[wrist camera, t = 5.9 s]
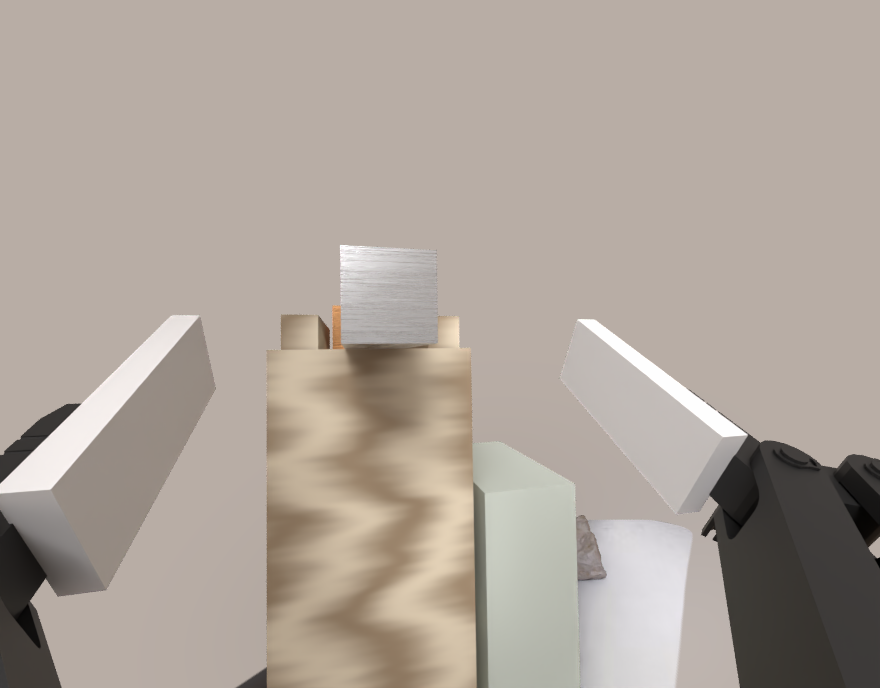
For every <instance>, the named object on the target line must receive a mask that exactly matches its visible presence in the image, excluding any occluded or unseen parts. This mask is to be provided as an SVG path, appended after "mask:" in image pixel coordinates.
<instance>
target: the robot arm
mask: <svg viewBox="0 0 880 688" xmlns="http://www.w3.org/2000/svg"><path fill="white" fill-rule="evenodd" d="M560 380H561V381H562V382H563V383H564V384H565V386H566V387H567V388H568V389H569V390H570V391H571V393H572V394H573V395H574V396H575V397H576V398H577V400H578V401H579V402H580V403H581V404H582V405H583V407H584V408H585V409H586V410H587V411H588V412H589V413H590V415H591V416H592V417H593V418H594V419H595V421H596V422H597V423H598V424H599V425H600V426H601V427H602V429H603V430H604V431H605V432H606V433H607V435H608V436H609V437H610V438H611V439H612V440H613V442H614V443H615V444H616V445H617V446H618V447H619V449H621V451H622V452H623V453H624V454H625V455H626V457H627V458H628V459H629V460H630V461H631V462H632V464H633V465H634V466H635V467H636V468H637V469H638V471H639V472H640V473H641V474H642V475H643V476H644V478H645V479H646V480H647V481H648V482H649V483H650V485H651V486H652V487H653V488H654V489H655V490H656V492H657V493H658V494H659V495H660V496H661V497H662V499H663V500H664V501H665V502H666V503H667V504H668V506H669V507H670V508H671V509H672V510H673V511H674V513H675V514H684V513H692V512H699V511H700V510H701V508H702V506H703V505H704V503H705V502H706V500H707V499H708V497H709V496H711V497H712V498H713V499H714V500H715V501H716V502H717V503H718V504H719V505H718V507H717V508H716V510H715V511H714V513H713V514H712V516H711V517H710V519H709V520H708V522H707V523H706V525H705V526H704V528H703V529H702V534H701V535H703V536H705V537H706V536H707V534H708V533H709V532H710V530H713V529H714V530H716V535H715V536H714V538H713V540H714V541H716V542H718V548H719V555H720V561H721V567H722V574H723V580H724V587H725V593H726V600H727V607H728V613H729V619H730V626H731V633H732V639H733V645H734V652H735V658H736V664H737V671H738V678H739V684H740V688H880V558H876V557H875V556H874V555H873V554H872V553H871V552H870V550H869V548H868V547H869V546H870V545H871V544H872V543H873V542H874V541H875V540H877V539H878V538H879V537H880V460H878V459H875V458H874V459H873V458H870V457H866V456H863V455H855V454H853V455H849V456H847V457H846V458H845V460H844V461H843V462H842V463H841V464H840V466H839V467H838V468H832V467H826V466H821V465H820V464H819V463H818V462H817V461H816V460H815V459H813V458H812V457H811V456H809V455H807V454H805V453H804V452H802V451H800V450H799V449H797V448H794V447H792V446H789V445H787V444H784V443H780V442H776V441H763V442H761V443H760V442H759V441H757V440H756V439H755V438H753V437H752V436H751V435H749V434H748V433H747V432H745V431H744V430H743V429H741V428H740V427H739V426H737V425H736V424H735V423H733V422H732V421H731V420H729V419H728V418H726V417H725V416H724V415H723V414H721V413H720V412H717V411H716V410H715V409H714V408H713V407H712V406H711V405H709V404H708V403H705V402H704V400H703V399H701V398H700V397H699V396H697V395H696V394H695V393H693V392H692V391H691V390H688V389H687V388H685V387H683V386H682V385H681V384H679V383H678V382H677V381H675V380H674V379H673V378H672V377H670V376H669V375H668V374H666V373H665V372H663V371H662V370H661V369H659V368H658V367H657V366H656V365H654V364H653V363H652V362H650V361H649V360H648V359H646V358H645V357H644V356H642V355H641V354H639V353H638V352H637V351H636V350H634V349H633V348H632V347H630V346H629V345H628V344H626V343H625V342H624V341H622V340H621V339H619V338H618V337H617V336H616V335H614V334H613V333H612V332H610V331H609V330H608V329H606V328H605V327H604V326H602V325H601V324H600V323H598V322H597V321H596V320H583V319H580V320H579V319H578V320H577V322H576V325H575V329H574V332H573V335H572V339H571V342H570V346H569V348H568V352H567V355H566V359H565V362H564V365H563V369H562V372H561V375H560ZM215 389H216V387H215V383H214V378H213V373H212V369H211V364H210V360H209V355H208V351H207V346H206V341H205V336H204V332H203V327H202V323H201V318H200V315H199V316H197V315H196V316H194V315H172V316H171V317H169V318H168V320H167V321H165V322H164V323H163V324H162V325H161V326H160V327H159V328H158V329H157V330H156V331H155V332H154V333H153V334H152V335H151V336H150V337H149V338H148V339H147V340H146V341H145V342H144V343H143V344H142V345H141V346H140V347H139V348H138V349H137V350H136V351H135V352H134V353H133V354H132V355H131V356H130V357H129V358H128V359H127V360H126V361H125V362H124V363H123V364H122V365H121V366H120V367H119V368H118V369H117V370H116V371H115V372H114V373H113V374H111V375H110V376H109V378H107V379H106V380H105V382H103V383H102V384H101V385H100V386H99V387H98V388H97V389H96V390H95V391H94V392H93V393H92V394H91V395H90V396H89V397H88V398H87V399H86V400H85V401H84V402H83V403H82V404H66V405H64V406H63V407H61V408H59V409H57V410H55V411H54V412H52V413H50V414H48V415H47V416H45V417H43V418H41V419H40V420H39V421H37V422H36V423H35V424H34V425H33V426H32V427H31V428H30V429H28V430H27V431H26V432H25V433H24V434H23V435H22V436H21V439H20V440H17V441H15V442H14V443H13V444H12V445H11V446H10V447H9V448H7V449H6V450H5V451H4V452H5V453H4V455H0V688H61V685H60V681H59V678H58V675H57V672H56V669H55V666H54V663H53V660H52V657H51V654H50V650H49V647H48V644H47V641H46V638H45V635H44V632H43V629H42V626H41V622H40V619H39V616H38V613H37V610H36V609H35V607H34V606H33V605H32V603H31V602H30V600H31V598H32V597H33V596H34V594H35V593H36V591H37V590H38V588H39V587H40V586H41V584H42V583H43V581H44V580H45V578H46V580H47V581H48V582H49V584H50V586H51V587H52V588H53V590H54V592H55V593H56V594H57V596H65V595H73V594H81V593H88V592H96V591H103V590H106V589H107V588H108V586H109V584H110V582H111V580H112V579H113V577H114V575H115V573H116V571H117V569H118V567H119V566H120V564H121V562H122V560H123V558H124V557H125V555H126V553H127V551H128V549H129V547H130V546H131V544H132V542H133V540H134V538H135V536H136V535H137V533H138V531H139V529H140V527H141V525H142V523H143V522H144V520H145V518H146V516H147V514H148V512H149V511H150V509H151V507H152V505H153V503H154V501H155V500H156V498H157V496H158V494H159V492H160V490H161V488H162V487H163V485H164V483H165V481H166V479H167V477H168V476H169V474H170V472H171V470H172V468H173V466H174V465H175V463H176V461H177V459H178V457H179V455H180V454H181V452H182V450H183V448H184V446H185V445H186V443H187V441H188V439H189V437H190V435H191V433H192V432H193V430H194V428H195V426H196V424H197V422H198V420H199V419H200V417H201V415H202V413H203V411H204V410H205V407H206V406H207V404H208V402H209V400H210V399H211V397H212V395H213V393H214V391H215Z"/></svg>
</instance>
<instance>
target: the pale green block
mask: <svg viewBox="0 0 880 688" xmlns="http://www.w3.org/2000/svg"><path fill="white" fill-rule="evenodd" d="M472 448H473V504H474V559H475V615H476V671H477V688H580V655H579V617H578V579H577V541H576V504H575V483H573V482H571V481H569V480H567V479H566V478H564V477H562V476H560V475H559V474H557V473H555V472H553V471H552V470H550V469H548V468H546V467H545V466H543V465H541V464H539V463H538V462H536V461H534V460H532V459H530V458H529V457H527V456H525V455H523V454H521V453H520V452H518V451H516V450H514V449H513V448H511V447H509V446H507V445H506V444H504V443H502V442H486V443H472Z"/></svg>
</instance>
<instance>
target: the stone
mask: <svg viewBox="0 0 880 688" xmlns="http://www.w3.org/2000/svg"><path fill="white" fill-rule="evenodd" d="M576 541H577V579H578V580H585V579H591V578H592V579H601V578H603V577H604V578H605V577H606V575H607V574H606V572H605V570H604V568H603V567H602V563H601V555H600V552H599V549H598V545H597V542H596V538H595V535H594V534H593V533H592V532H590V527H589V524H588V521H587V519H586V518H585V516H584V515H581V516H578V517H576Z"/></svg>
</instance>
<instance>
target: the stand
mask: <svg viewBox="0 0 880 688" xmlns="http://www.w3.org/2000/svg"><path fill="white" fill-rule="evenodd" d="M329 334H330V330H329V328H328V327H327V326H326V325H325V323H324V322H323V321H322V320H321V318H320V317H319V316H318V315H281V350H267V688H477V671H476V615H475V559H474V504H473V448H472V395H471V394H472V393H471V348H459V317H458V316H438V343H436V344H430V345H424V346H417V347H411V348H405V349H330V345H329V344H330V336H329Z"/></svg>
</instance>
